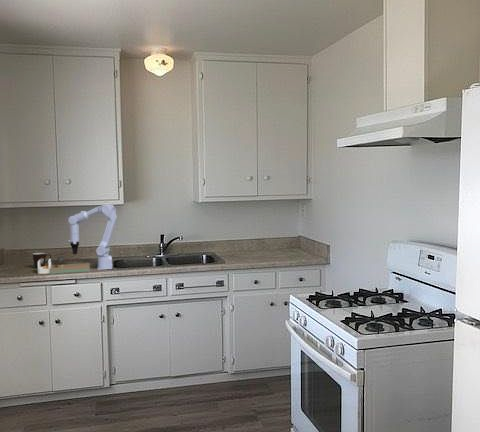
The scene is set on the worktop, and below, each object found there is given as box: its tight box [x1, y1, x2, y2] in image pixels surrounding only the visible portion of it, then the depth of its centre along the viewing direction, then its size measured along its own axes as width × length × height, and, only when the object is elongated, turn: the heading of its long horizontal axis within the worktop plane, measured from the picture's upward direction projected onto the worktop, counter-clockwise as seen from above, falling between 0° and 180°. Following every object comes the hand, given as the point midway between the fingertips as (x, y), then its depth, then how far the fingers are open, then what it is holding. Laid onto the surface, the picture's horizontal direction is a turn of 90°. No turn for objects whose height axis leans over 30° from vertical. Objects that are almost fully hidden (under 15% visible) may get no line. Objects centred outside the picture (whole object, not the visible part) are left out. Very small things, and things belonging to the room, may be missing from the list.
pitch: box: [37, 258, 91, 275], centre depth 334 cm, size 32×12×8 cm, turn 108°
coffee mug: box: [32, 252, 52, 270], centre depth 349 cm, size 12×9×10 cm
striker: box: [57, 256, 64, 267], centre depth 333 cm, size 3×6×8 cm, turn 18°
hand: (75, 253), depth 344 cm, fingers open, 7 cm apart
